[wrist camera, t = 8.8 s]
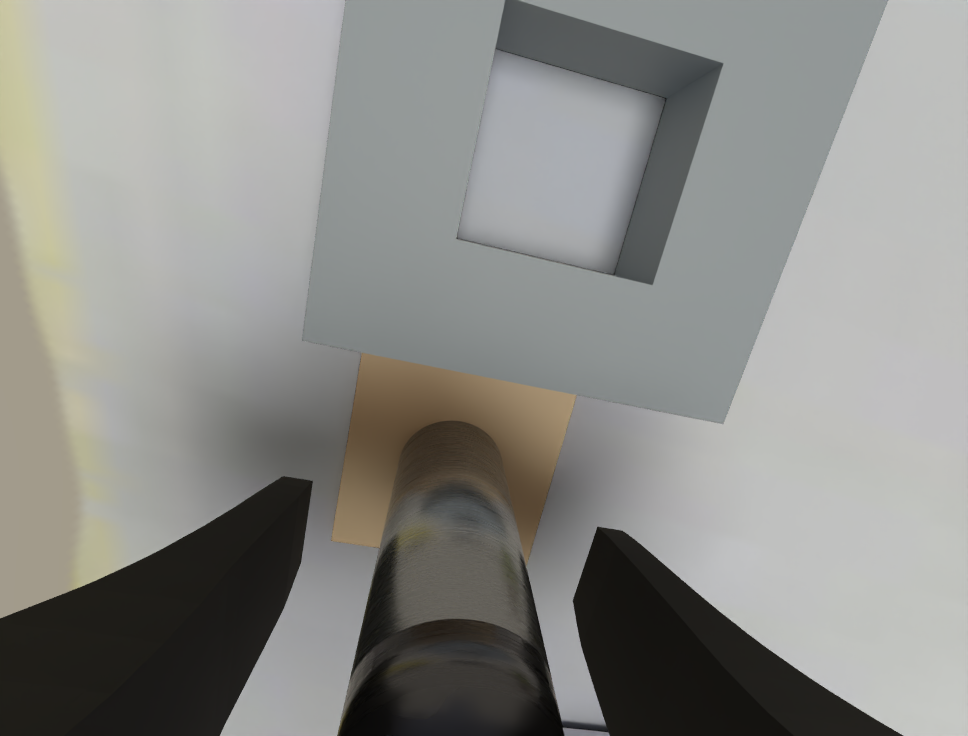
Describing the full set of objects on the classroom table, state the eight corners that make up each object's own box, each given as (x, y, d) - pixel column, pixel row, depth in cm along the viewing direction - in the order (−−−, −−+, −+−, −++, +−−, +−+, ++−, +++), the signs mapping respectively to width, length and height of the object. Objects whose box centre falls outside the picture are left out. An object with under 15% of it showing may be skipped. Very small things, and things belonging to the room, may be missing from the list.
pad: (523, 560, 15) (525, 569, 15) (334, 532, 14) (331, 541, 14) (574, 387, 14) (577, 391, 13) (365, 345, 13) (362, 349, 12)
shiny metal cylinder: (499, 513, 14) (558, 853, 6) (398, 514, 14) (333, 866, 6) (505, 421, 13) (581, 683, 6) (398, 419, 13) (322, 691, 5)
